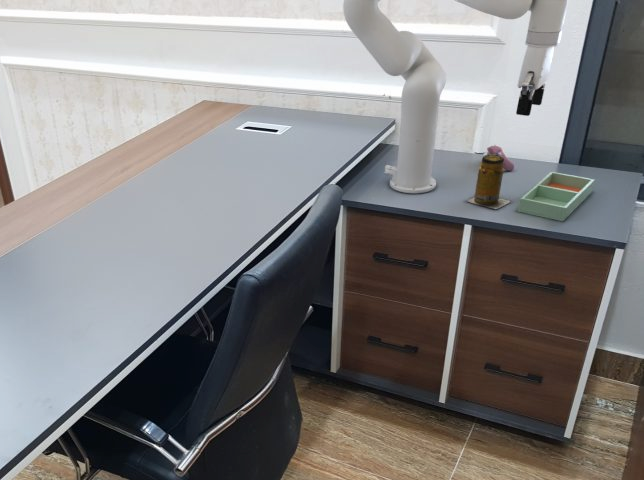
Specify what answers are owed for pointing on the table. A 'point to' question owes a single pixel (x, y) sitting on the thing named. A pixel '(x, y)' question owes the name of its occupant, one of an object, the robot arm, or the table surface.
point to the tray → (556, 196)
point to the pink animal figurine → (498, 151)
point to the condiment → (489, 183)
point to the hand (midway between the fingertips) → (528, 109)
